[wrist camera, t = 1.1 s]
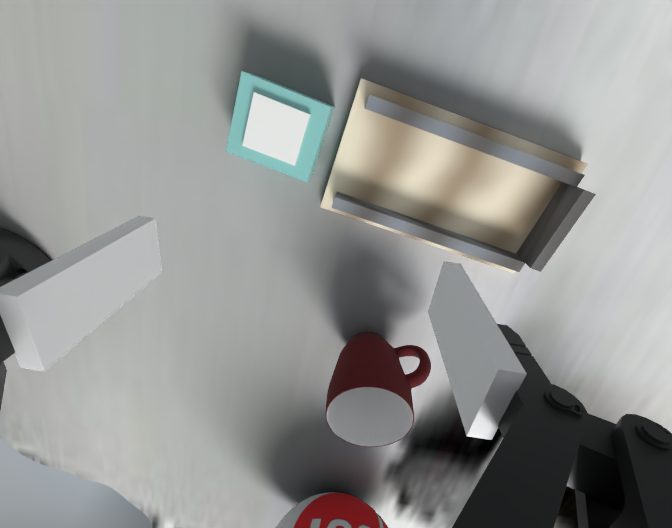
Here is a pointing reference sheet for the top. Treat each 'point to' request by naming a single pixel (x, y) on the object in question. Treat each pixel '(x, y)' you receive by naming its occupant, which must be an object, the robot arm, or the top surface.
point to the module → (278, 126)
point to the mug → (373, 391)
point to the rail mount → (453, 181)
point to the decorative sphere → (332, 513)
